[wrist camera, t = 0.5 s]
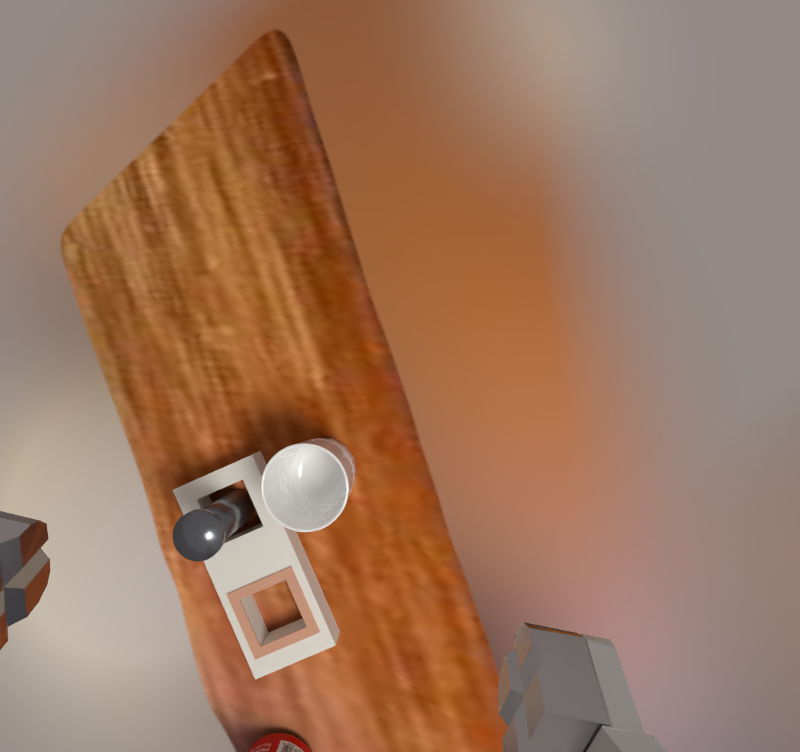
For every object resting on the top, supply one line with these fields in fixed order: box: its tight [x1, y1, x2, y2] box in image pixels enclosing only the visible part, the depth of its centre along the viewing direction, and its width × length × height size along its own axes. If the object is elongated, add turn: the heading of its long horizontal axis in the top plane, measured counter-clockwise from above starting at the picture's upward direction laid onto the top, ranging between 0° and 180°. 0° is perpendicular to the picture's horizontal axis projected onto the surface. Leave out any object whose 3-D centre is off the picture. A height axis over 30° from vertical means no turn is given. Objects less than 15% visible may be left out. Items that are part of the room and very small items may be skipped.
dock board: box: [173, 451, 340, 679], centre depth 59 cm, size 21×9×3 cm, turn 24°
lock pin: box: [173, 489, 256, 561], centre depth 55 cm, size 4×4×11 cm
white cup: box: [261, 438, 356, 532], centre depth 55 cm, size 8×8×10 cm
